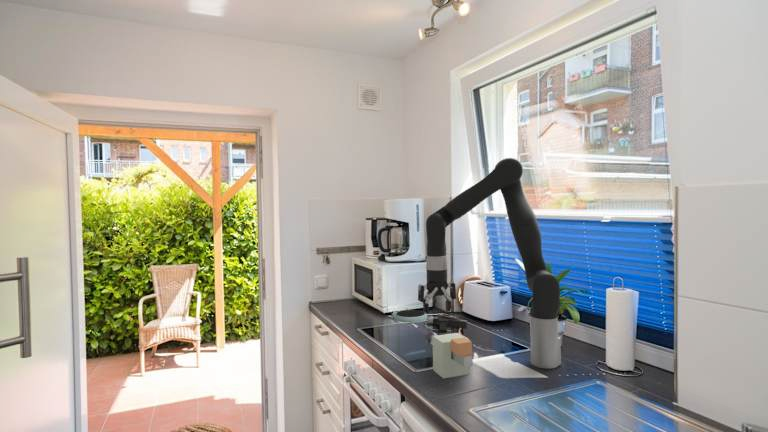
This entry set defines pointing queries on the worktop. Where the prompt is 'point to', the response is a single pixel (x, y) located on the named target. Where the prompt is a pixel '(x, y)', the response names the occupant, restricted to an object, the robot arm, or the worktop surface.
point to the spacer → (461, 346)
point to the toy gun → (447, 322)
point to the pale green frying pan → (410, 316)
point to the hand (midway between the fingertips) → (437, 312)
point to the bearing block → (446, 357)
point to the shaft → (463, 360)
